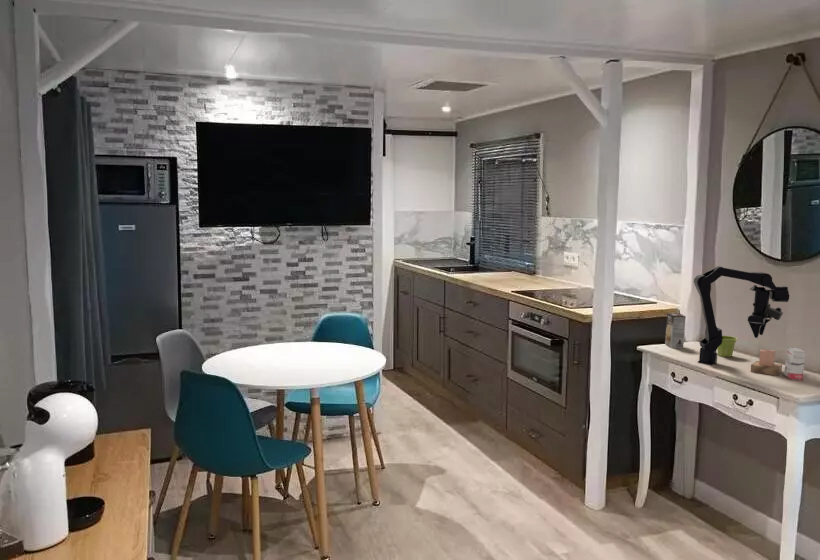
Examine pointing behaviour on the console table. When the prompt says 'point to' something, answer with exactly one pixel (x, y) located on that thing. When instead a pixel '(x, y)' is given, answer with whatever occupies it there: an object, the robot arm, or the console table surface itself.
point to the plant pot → (726, 346)
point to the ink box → (794, 363)
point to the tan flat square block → (766, 368)
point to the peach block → (767, 357)
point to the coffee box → (675, 330)
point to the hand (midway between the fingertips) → (758, 336)
